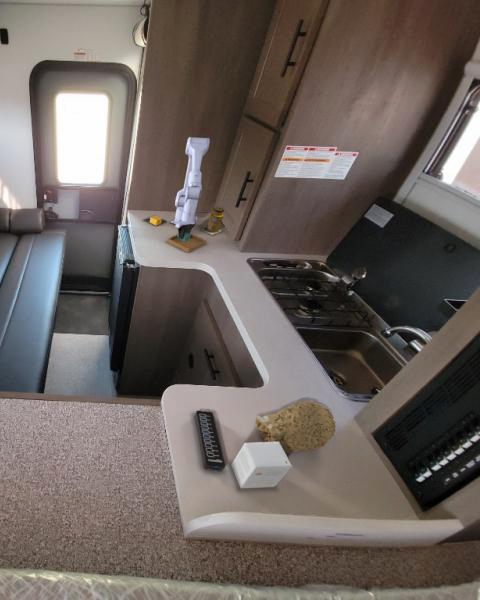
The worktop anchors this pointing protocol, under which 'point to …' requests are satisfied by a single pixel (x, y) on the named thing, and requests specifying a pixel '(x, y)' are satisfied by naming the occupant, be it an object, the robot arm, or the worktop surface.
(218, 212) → the condiment
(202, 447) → the tool bit set
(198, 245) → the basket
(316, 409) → the sponge
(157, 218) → the block
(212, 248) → the worktop surface
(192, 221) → the robot arm
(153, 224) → the mat
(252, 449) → the small box
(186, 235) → the packet teal
